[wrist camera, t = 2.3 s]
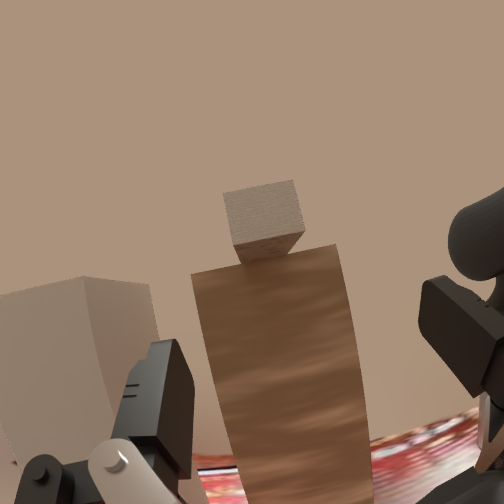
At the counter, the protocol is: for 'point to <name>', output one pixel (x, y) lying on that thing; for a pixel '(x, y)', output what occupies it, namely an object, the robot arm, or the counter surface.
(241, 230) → the wooden block
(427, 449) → the counter surface
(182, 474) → the robot arm
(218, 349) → the walnut stand
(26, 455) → the block
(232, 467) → the counter surface
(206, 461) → the counter surface
